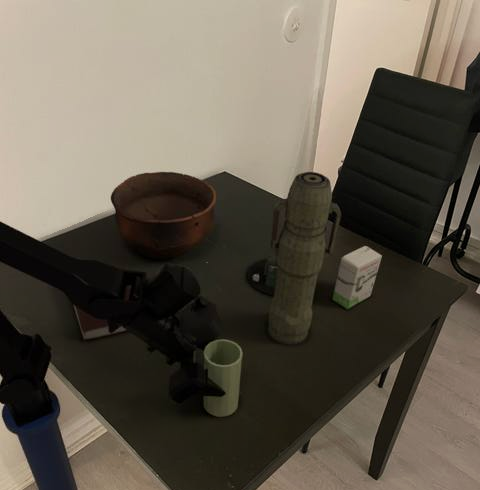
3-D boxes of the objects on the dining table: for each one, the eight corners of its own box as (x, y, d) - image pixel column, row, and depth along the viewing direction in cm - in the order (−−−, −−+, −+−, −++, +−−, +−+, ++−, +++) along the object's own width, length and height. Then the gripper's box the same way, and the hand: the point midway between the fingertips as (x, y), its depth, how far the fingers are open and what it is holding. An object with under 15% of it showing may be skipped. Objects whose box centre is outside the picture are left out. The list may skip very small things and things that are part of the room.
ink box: (347, 310, 114) (358, 267, 107) (331, 299, 117) (340, 256, 109) (371, 296, 119) (383, 254, 111) (355, 286, 122) (365, 244, 114)
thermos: (258, 316, 111) (275, 165, 88) (311, 317, 112) (341, 167, 89) (261, 344, 104) (280, 189, 81) (318, 345, 105) (352, 191, 82)
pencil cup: (215, 422, 89) (217, 372, 80) (196, 398, 93) (196, 348, 84) (245, 407, 92) (249, 357, 83) (225, 384, 96) (228, 334, 87)
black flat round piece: (249, 257, 128) (251, 238, 125) (308, 262, 128) (311, 244, 124) (245, 293, 117) (246, 274, 113) (309, 299, 116) (313, 280, 113)
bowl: (202, 283, 119) (202, 227, 109) (102, 267, 121) (93, 211, 111) (223, 229, 138) (225, 177, 128) (136, 216, 140) (131, 165, 130)
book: (122, 276, 119) (120, 265, 117) (144, 328, 106) (143, 316, 104) (67, 287, 115) (65, 275, 113) (83, 342, 102) (81, 330, 100)
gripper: (189, 342, 69) (263, 394, 77) (192, 263, 83) (254, 314, 91) (136, 380, 74) (210, 426, 82) (147, 299, 87) (210, 345, 96)
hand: (223, 374), depth 87 cm, fingers open, 9 cm apart
